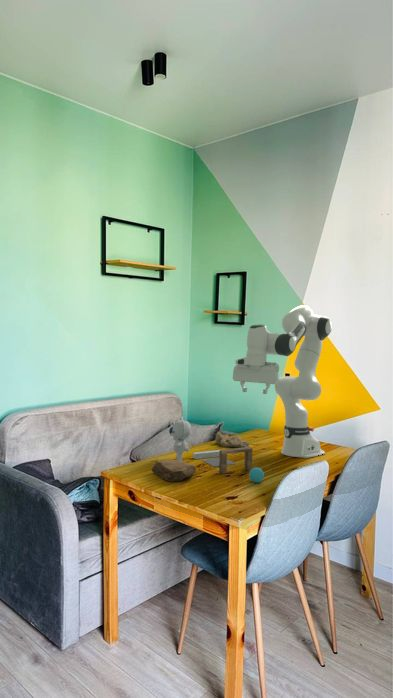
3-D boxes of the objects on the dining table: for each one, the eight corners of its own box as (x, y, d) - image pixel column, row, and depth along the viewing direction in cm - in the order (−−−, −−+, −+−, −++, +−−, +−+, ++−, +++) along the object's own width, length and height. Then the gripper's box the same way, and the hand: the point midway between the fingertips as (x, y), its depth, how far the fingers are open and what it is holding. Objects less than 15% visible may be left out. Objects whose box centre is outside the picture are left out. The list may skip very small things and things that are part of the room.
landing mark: (223, 457, 229) (223, 457, 229) (236, 464, 218) (236, 463, 218) (201, 460, 224) (201, 459, 224) (213, 466, 213) (213, 466, 213)
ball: (258, 479, 196) (258, 465, 196) (266, 483, 191) (267, 468, 191) (246, 480, 194) (246, 466, 193) (254, 485, 188) (254, 470, 188)
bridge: (219, 472, 205) (219, 450, 205) (248, 468, 212) (248, 447, 211) (222, 474, 202) (222, 451, 202) (251, 470, 209) (252, 448, 209)
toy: (168, 456, 230) (169, 415, 229) (189, 456, 231) (190, 415, 230) (169, 465, 213) (170, 422, 212) (192, 465, 214) (193, 422, 213)
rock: (204, 467, 199) (184, 469, 186) (201, 483, 198) (180, 486, 186) (167, 455, 210) (146, 456, 197) (164, 471, 209) (143, 473, 197)
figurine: (224, 431, 264) (255, 435, 252) (222, 444, 264) (253, 449, 252) (211, 431, 255) (243, 436, 243) (210, 445, 254) (242, 451, 242)
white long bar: (221, 454, 235) (222, 449, 235) (224, 455, 232) (224, 450, 232) (193, 457, 228) (193, 452, 228) (195, 459, 225) (195, 453, 225)
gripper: (281, 362, 205) (279, 394, 205) (237, 360, 213) (235, 390, 214) (277, 362, 199) (275, 395, 199) (232, 360, 208) (230, 391, 208)
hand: (254, 392), depth 206 cm, fingers open, 8 cm apart
